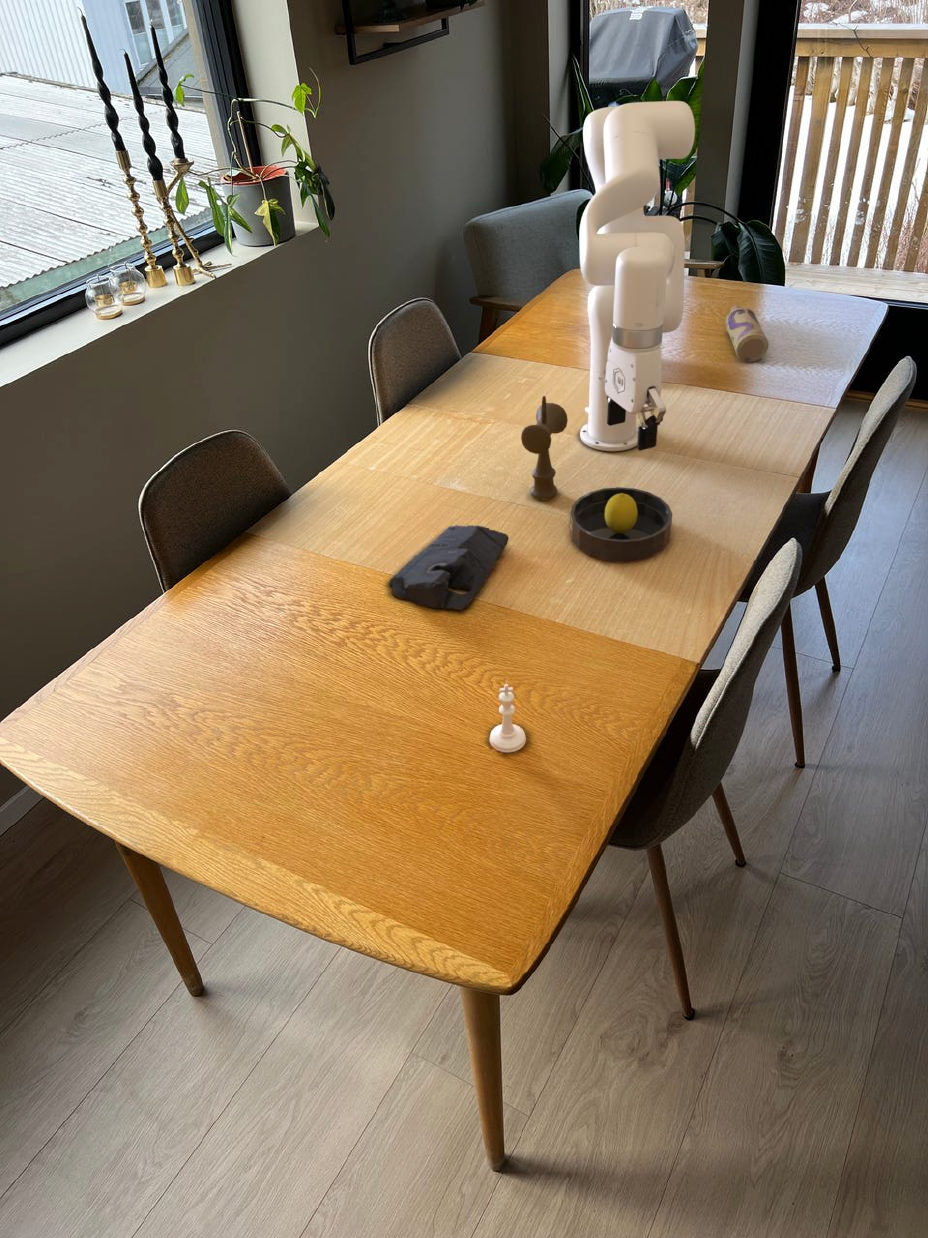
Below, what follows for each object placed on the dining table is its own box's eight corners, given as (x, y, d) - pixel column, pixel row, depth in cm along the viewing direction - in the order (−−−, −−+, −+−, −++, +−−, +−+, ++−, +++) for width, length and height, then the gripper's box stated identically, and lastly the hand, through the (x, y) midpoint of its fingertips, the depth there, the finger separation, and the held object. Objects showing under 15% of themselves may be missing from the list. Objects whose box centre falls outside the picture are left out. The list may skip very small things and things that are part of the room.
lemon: (634, 543, 167) (637, 503, 162) (602, 540, 168) (604, 501, 163) (636, 525, 171) (639, 486, 166) (605, 523, 172) (607, 484, 167)
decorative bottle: (767, 362, 221) (771, 334, 217) (734, 363, 222) (737, 335, 218) (749, 319, 241) (753, 292, 237) (718, 319, 242) (721, 293, 238)
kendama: (567, 484, 184) (569, 386, 171) (550, 510, 177) (551, 410, 164) (537, 479, 186) (537, 382, 173) (519, 505, 179) (518, 405, 166)
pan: (553, 522, 174) (553, 501, 171) (637, 500, 178) (639, 478, 175) (599, 573, 161) (600, 551, 158) (689, 547, 165) (691, 525, 163)
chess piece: (487, 728, 134) (485, 674, 128) (523, 725, 134) (522, 670, 128) (491, 754, 130) (489, 699, 124) (528, 750, 130) (527, 696, 124)
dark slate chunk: (524, 548, 168) (524, 524, 165) (460, 619, 153) (459, 595, 150) (448, 526, 174) (446, 504, 171) (380, 593, 160) (377, 569, 157)
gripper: (588, 319, 153) (585, 419, 164) (645, 358, 140) (638, 463, 151) (630, 311, 155) (624, 410, 166) (690, 348, 142) (679, 452, 153)
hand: (630, 435), depth 158 cm, fingers open, 9 cm apart
